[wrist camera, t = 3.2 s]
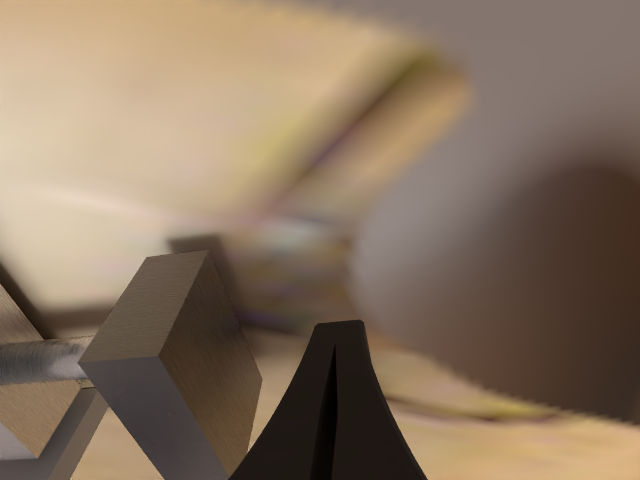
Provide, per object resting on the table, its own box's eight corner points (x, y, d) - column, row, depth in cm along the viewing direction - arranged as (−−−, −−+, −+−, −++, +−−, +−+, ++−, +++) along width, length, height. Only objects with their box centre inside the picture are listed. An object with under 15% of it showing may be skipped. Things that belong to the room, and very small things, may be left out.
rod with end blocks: (266, 374, 17) (241, 497, 13) (49, 389, 18) (-29, 504, 14) (210, 231, 13) (152, 346, 9) (-55, 266, 15) (-195, 377, 11)
